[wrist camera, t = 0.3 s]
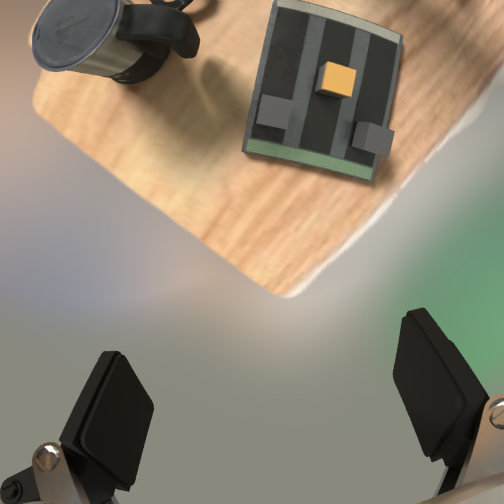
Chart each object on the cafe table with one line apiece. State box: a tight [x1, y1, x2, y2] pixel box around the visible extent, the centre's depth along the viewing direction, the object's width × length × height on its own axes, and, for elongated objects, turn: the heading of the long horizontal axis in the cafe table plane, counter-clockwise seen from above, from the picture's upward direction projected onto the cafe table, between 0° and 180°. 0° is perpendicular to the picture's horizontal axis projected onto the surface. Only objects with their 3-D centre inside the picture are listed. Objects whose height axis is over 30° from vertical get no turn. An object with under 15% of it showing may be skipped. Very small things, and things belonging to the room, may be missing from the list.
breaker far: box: [352, 122, 395, 158], centre depth 29 cm, size 3×3×4 cm
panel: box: [241, 0, 403, 182], centre depth 29 cm, size 20×16×2 cm
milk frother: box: [32, 0, 200, 84], centre depth 20 cm, size 14×16×15 cm
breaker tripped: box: [315, 62, 356, 99], centre depth 26 cm, size 3×3×4 cm
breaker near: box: [256, 94, 293, 130], centre depth 28 cm, size 3×3×4 cm
